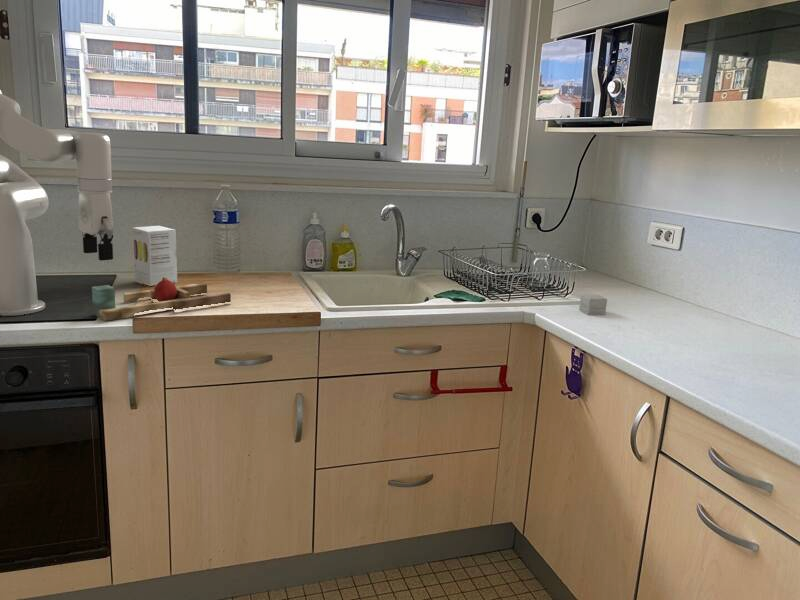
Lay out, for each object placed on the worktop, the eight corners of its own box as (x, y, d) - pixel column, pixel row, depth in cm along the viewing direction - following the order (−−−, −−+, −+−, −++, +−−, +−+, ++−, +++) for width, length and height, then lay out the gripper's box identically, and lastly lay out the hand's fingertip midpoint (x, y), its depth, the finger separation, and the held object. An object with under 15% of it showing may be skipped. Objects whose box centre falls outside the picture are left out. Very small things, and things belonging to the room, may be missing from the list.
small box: (605, 315, 187) (608, 298, 186) (587, 315, 186) (589, 298, 184) (596, 310, 192) (598, 293, 191) (578, 310, 191) (580, 294, 190)
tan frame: (105, 321, 158) (103, 293, 157) (90, 312, 165) (88, 285, 163) (191, 307, 174) (190, 281, 172) (174, 299, 180) (173, 275, 179)
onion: (153, 304, 176) (151, 275, 174) (176, 302, 179) (174, 273, 177) (156, 309, 171) (154, 279, 169) (179, 307, 174) (177, 278, 172)
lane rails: (175, 313, 168) (175, 302, 168) (151, 301, 178) (151, 291, 177) (230, 304, 179) (230, 293, 179) (205, 293, 189) (204, 283, 188)
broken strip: (126, 303, 175) (125, 294, 175) (124, 302, 176) (123, 293, 176) (198, 292, 190) (198, 284, 189) (195, 291, 191) (195, 283, 190)
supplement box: (134, 281, 199) (131, 227, 195) (161, 277, 206) (159, 224, 202) (150, 287, 194) (147, 231, 189) (178, 283, 200) (176, 228, 196)
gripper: (65, 182, 159) (69, 251, 163) (92, 190, 147) (95, 264, 151) (97, 182, 164) (100, 249, 168) (125, 189, 152) (128, 261, 157)
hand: (98, 256), depth 160 cm, fingers open, 9 cm apart
